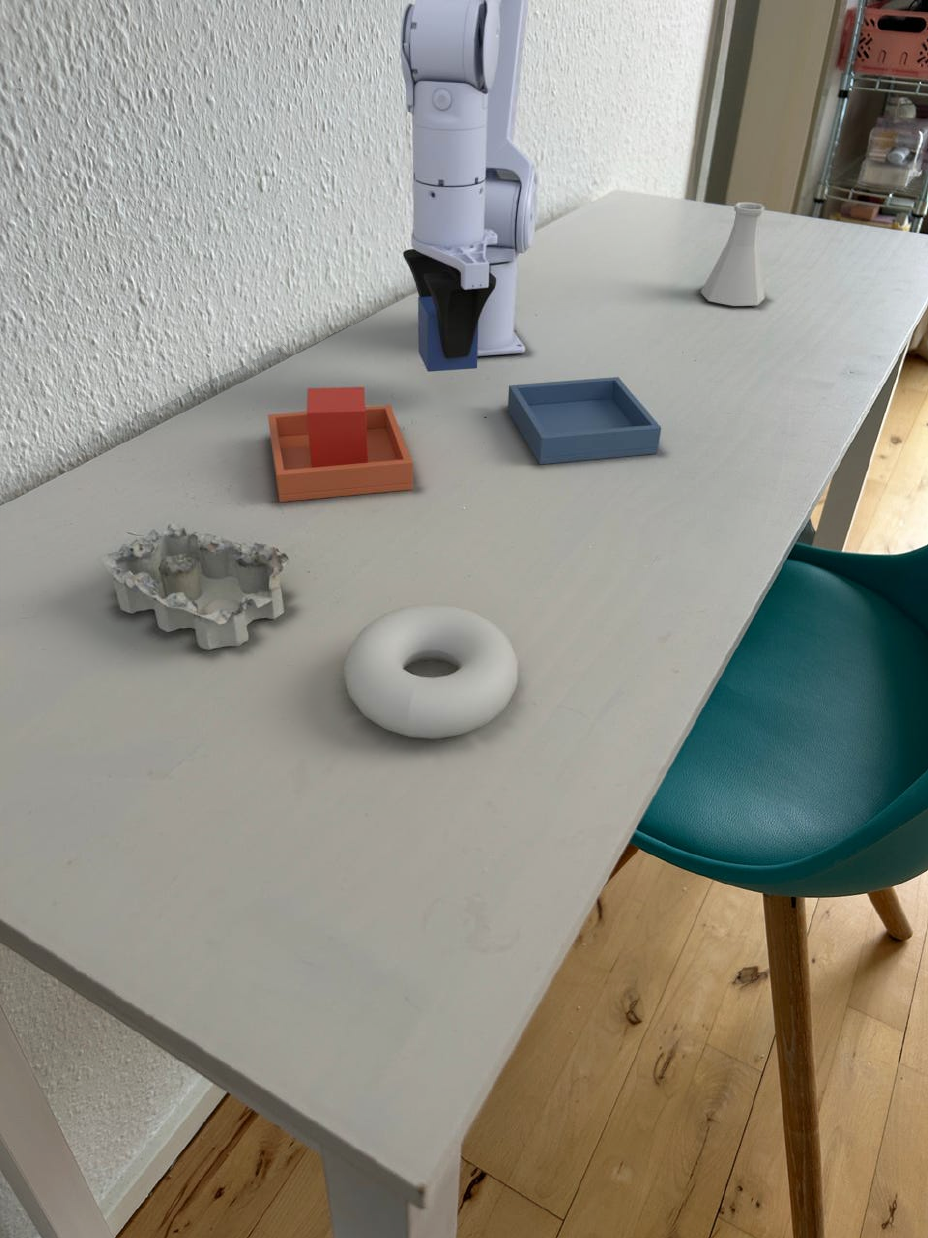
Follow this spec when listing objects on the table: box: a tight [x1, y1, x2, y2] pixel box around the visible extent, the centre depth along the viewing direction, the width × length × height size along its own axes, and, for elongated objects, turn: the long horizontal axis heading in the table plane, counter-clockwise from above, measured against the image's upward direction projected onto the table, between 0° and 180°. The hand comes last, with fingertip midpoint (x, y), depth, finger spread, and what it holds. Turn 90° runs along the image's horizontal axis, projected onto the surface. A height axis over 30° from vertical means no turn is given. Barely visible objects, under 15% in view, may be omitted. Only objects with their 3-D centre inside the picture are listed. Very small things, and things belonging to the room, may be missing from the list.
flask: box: [700, 201, 766, 307], centre depth 107 cm, size 7×7×10 cm
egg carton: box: [96, 522, 290, 651], centre depth 60 cm, size 11×8×4 cm
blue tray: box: [507, 376, 662, 465], centre depth 81 cm, size 10×10×2 cm
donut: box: [343, 603, 519, 740], centre depth 54 cm, size 10×4×10 cm
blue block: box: [417, 296, 478, 373], centre depth 83 cm, size 4×4×5 cm
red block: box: [306, 386, 368, 468], centre depth 75 cm, size 4×4×5 cm
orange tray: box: [267, 404, 414, 503], centre depth 76 cm, size 10×10×2 cm
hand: (447, 344), depth 83 cm, fingers closed on blue block, 4 cm apart
